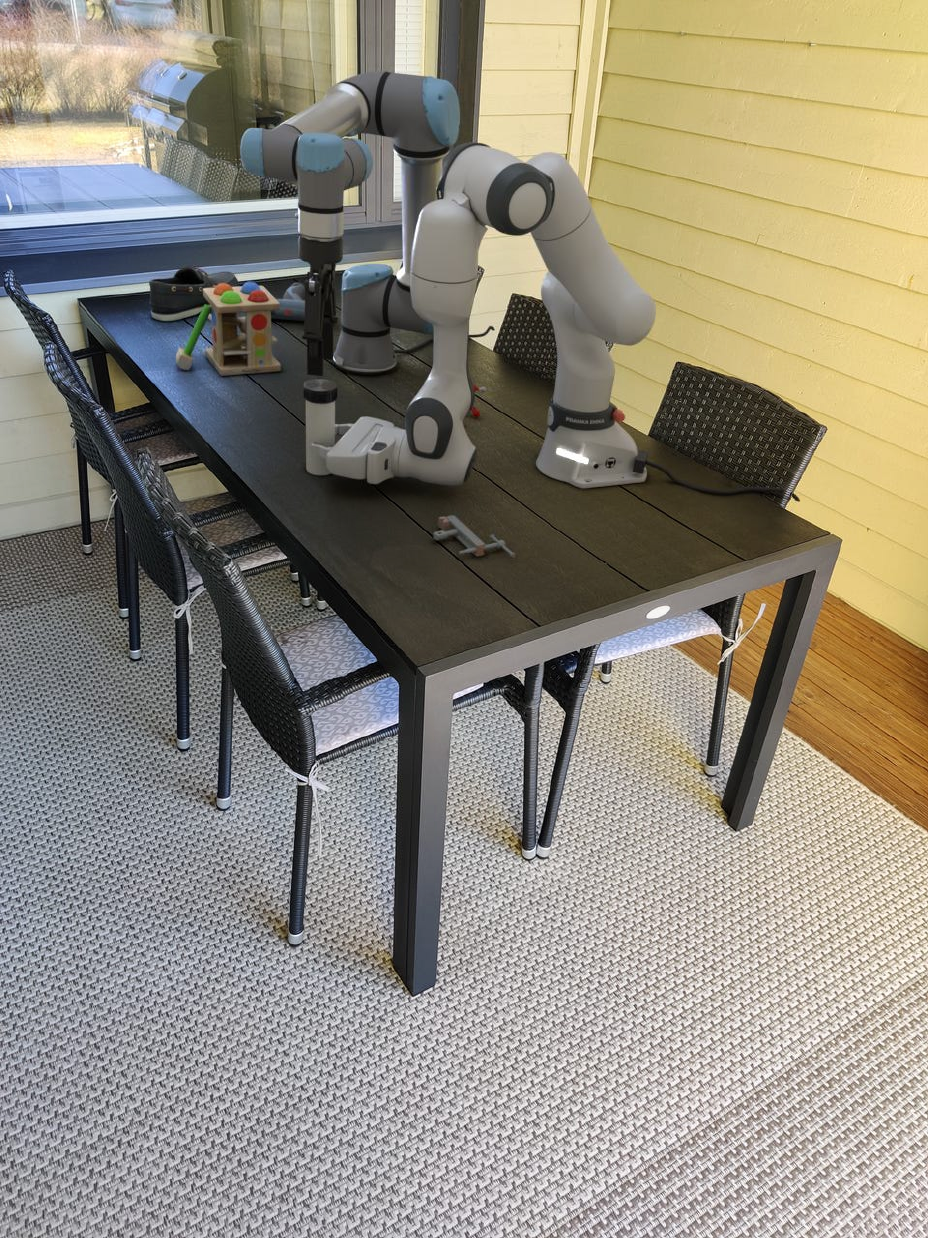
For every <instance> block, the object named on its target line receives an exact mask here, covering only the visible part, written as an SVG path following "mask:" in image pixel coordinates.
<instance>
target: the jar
mask: <svg viewBox="0 0 928 1238" xmlns="http://www.w3.org/2000/svg"><path fill="white" fill-rule="evenodd" d="M335 424H336V400H335V401H334V402H331V403H324V404H319V403H313V402H309V401H307V400H306V399H305V468H306V471H307V472H308V473H309V474H310V475H311V474H312V475H315V476H328V475H330V474H331V475H332V473H330V472H329V471H328V470H327V469H326V460H325V459H324V458H322V457H321V456H319V455H316V454H312V453H311V452H310V446H311V445H312V444H313V443H314V442H317V443H322V446H324V447H326V448H328V447H333V446H334V445H335V444H336V436H335Z"/></svg>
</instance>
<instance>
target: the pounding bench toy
mask: <svg viewBox="0 0 928 1238" xmlns="http://www.w3.org/2000/svg"><path fill="white" fill-rule="evenodd" d="M203 296H204V297H205V299H206V300H207V301H208V302H209V304H210V305H211V307H210V306H208V305H204V307H203V309H202V311H201V312H200V313H199V316H198V318H197V320H196V322H195V324H194V327H193V329H192V331H191V332H190V333H191V334H190V336H189V338H188V340H187V343H186V344H185V347H184V348H182V347H180V346H179V347H178V349H177V351H176V354H175V357H174V358H175V362H176V365H177V366H178V368H179V369H182V370H185V371H189V370H190V369H191V367H192V365H193V363H194V356H193V351H194V348H195V347H196V345H197V342H198V340H199V337H200V336H201V333H202V332H203V329H204V326H205V325H206V322H207V320H209V321H210V322H211V336H212V337H211V338H212V339H211V340H212V348H205V349H204V352H205V353H204V355H205V357H206V359H208V361H209V363H210V364H211V365H212V366H213V367H214V369H215V370H216V371H217V372H218V374H219V375H220V376H222V377H223V376H234V375H235V376H236V375H246V374H247V375H250V374H262V373H275V372H281V370H282V364H281V363H280V362H279V360H278V359H277V358H276V357H275V356H274V355H273V348H272V347H273V345H272V344H276V343H278V342H279V341H278V339H277V338H276V337H275V336H274V334H272V318H271V310H280V303H279V302H278V301H277V300H276V299H277V298H276V297H274V296H273V295H272V294H271V293H270V292H269V290H268V289H267V288H266V287H264V285H259V284H257V283H256V282H255V281H247V282H245V283H244V284H243V285H242V286H239V287H231V286H230V285H228V284H226V283H221V284H218V285H217V286H216V287H215V288H204V289H203ZM238 313H244V314H245V315H244V316H238ZM238 329H239V331H240V333H239V334H238Z"/></svg>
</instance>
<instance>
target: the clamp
mask: <svg viewBox="0 0 928 1238" xmlns="http://www.w3.org/2000/svg"><path fill="white" fill-rule="evenodd" d="M437 528H438V529H440V530H437V531H433V539H434V540H436V541H441V540H447V538H449V537H453V536H454V537H455V538H456V539H457V540H458V541H459V542H460V543H461V544H462V545H463V546H465V547H466V549H464V550H459V551H458V554H459V555H464V554H465V555H467V554H468V555H469V554H473V555H474V556H475V557H482V556H484V555H485V552H484V551H486V550H491V549H495V548H496V549H503V550H504V551H505V552H506V553H507V554H509V556H510V558H511V559H513V558H515V557H516V556H517V555H516V552H512V550H510V549H509V548H508V547H506V542H505V540H504V539H499V540H498V538H496V536H495V534H493V533H492V534H490V535H489V540H493V543H488V544H486V543H485V542H484V541H483V540H481V539H480V538H479V537H478V536H477V535H476V534H475V533H474V532H473V531H471V529H470V528H469V527H468V526H467V525H465V524H464V523H463V522H462V521H461V520H460V519H459V518H458V517H457V516H456V515H448V516H445V515H444V516H439V517H438V523H437Z"/></svg>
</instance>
